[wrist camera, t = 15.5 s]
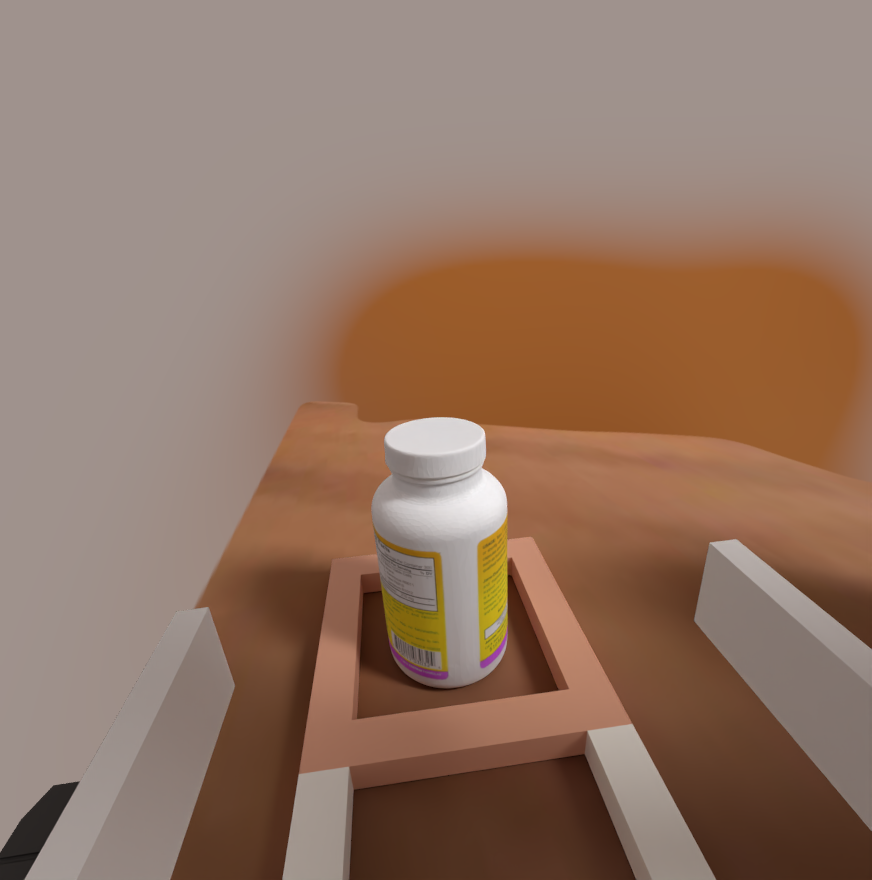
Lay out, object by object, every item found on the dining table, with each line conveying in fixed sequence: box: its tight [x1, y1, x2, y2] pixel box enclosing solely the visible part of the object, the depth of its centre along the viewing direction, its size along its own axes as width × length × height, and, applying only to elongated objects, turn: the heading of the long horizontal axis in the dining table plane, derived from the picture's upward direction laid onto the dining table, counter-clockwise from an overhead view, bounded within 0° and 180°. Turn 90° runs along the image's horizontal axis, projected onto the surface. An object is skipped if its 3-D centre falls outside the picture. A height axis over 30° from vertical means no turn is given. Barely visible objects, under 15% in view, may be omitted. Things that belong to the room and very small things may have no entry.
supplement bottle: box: [372, 417, 508, 688], centre depth 23 cm, size 7×7×13 cm
